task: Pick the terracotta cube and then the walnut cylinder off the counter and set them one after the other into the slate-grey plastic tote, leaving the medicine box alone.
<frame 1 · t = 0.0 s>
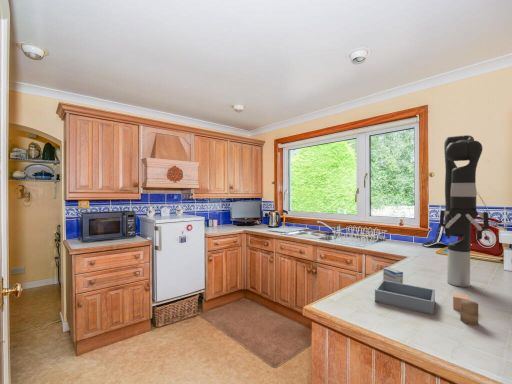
hand: (462, 239, 97), 29 cm above the worktop, fingers open, 8 cm apart
tote: (404, 301, 112), on the worktop
medicine box: (392, 288, 128), on the worktop
terracotta cube: (460, 308, 105), on the worktop
walnut cylinder: (469, 321, 95), on the worktop
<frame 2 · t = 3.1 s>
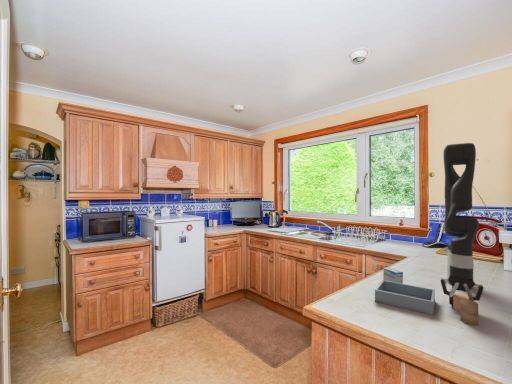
hand: (460, 307, 105), 0 cm above the worktop, fingers closed on terracotta cube, 5 cm apart
terracotta cube: (461, 308, 105), on the worktop, touching gripper
everything else where it was.
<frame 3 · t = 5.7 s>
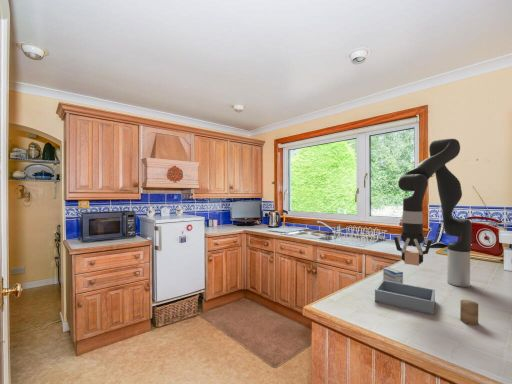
hand: (412, 262, 110), 17 cm above the worktop, fingers closed on terracotta cube, 5 cm apart
terracotta cube: (412, 263, 110), point 17 cm above the worktop, touching gripper
everything else where it was.
when the fingers open (3 cm above the worktop, at t = 8.7 s): terracotta cube drops 2 cm, resting on tote.
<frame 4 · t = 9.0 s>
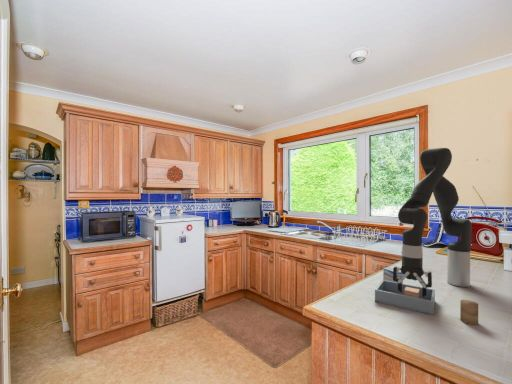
hand: (411, 293, 110), 4 cm above the worktop, fingers open, 8 cm apart
terracotta cube: (411, 301, 110), point 1 cm above the worktop, touching tote
everything else where it was.
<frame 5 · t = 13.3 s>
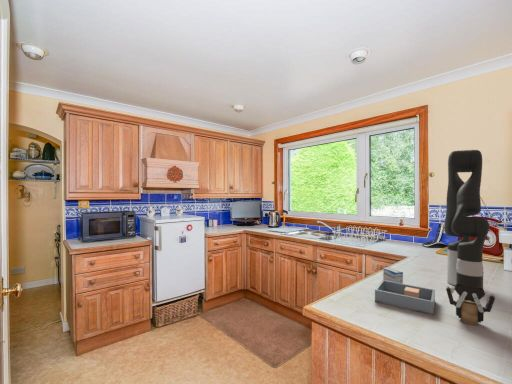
hand: (469, 319, 95), 1 cm above the worktop, fingers closed on walnut cylinder, 5 cm apart
walnut cylinder: (469, 321, 95), on the worktop, touching gripper
everything else where it was.
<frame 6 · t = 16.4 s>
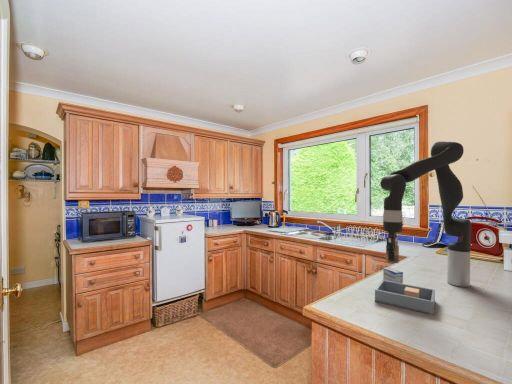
hand: (392, 259, 115), 17 cm above the worktop, fingers closed on walnut cylinder, 5 cm apart
walnut cylinder: (392, 261, 115), point 16 cm above the worktop, touching gripper
everything else where it was.
when the fingers open (3 cm above the worktop, at t = 19.5 s): walnut cylinder drops 1 cm, resting on tote.
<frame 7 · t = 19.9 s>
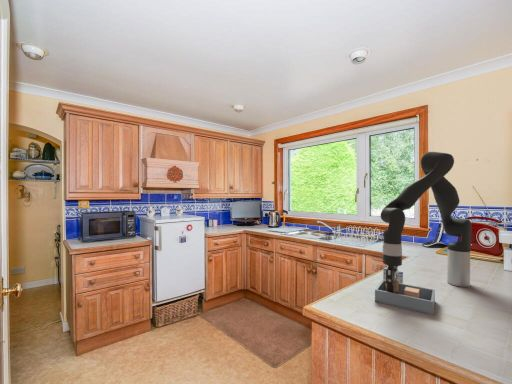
hand: (391, 290, 115), 4 cm above the worktop, fingers open, 8 cm apart
walnut cylinder: (391, 297, 115), point 1 cm above the worktop, touching tote
everything else where it was.
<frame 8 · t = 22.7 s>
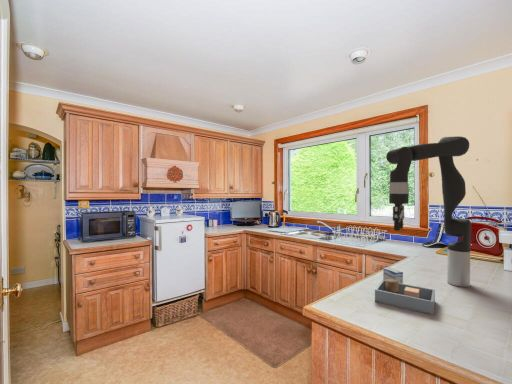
hand: (398, 229, 116), 30 cm above the worktop, fingers open, 8 cm apart
nothing on the worktop moved.
at the end: terracotta cube inside the target area on the tote (2.5 cm from its centre), point 0.6 cm above the tote's base; walnut cylinder inside the target area on the tote (5.0 cm from its centre), point 0.7 cm above the tote's base; the gripper is holding nothing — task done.
